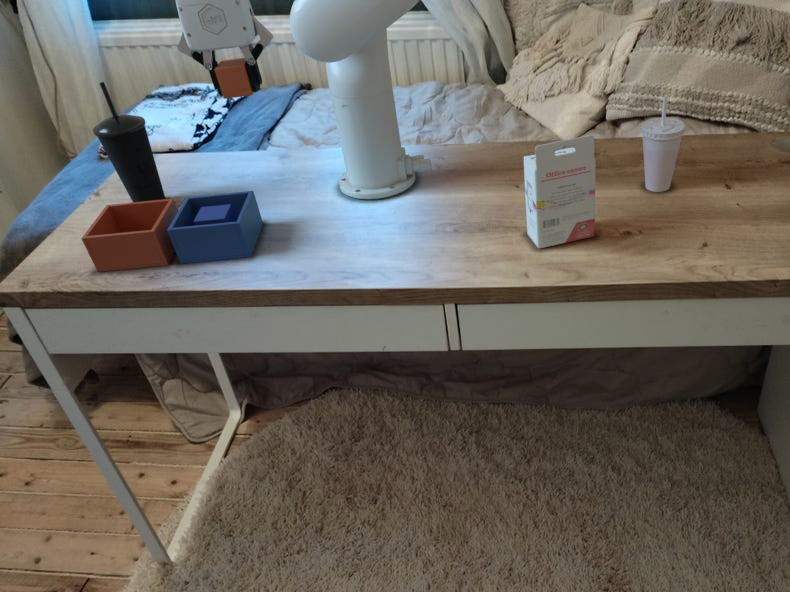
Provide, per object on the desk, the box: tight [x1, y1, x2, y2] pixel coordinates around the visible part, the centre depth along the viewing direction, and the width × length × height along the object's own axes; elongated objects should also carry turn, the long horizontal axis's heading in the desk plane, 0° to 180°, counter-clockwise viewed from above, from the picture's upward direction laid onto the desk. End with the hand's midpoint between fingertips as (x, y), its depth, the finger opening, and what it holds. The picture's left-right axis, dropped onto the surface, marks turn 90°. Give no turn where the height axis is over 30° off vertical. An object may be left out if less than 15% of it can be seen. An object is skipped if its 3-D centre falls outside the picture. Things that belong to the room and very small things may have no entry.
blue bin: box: [167, 190, 264, 265], centre depth 104 cm, size 10×10×6 cm
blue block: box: [194, 204, 237, 226], centre depth 104 cm, size 4×4×4 cm
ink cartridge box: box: [523, 134, 597, 249], centre depth 95 cm, size 9×5×15 cm, turn 106°
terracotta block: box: [215, 57, 255, 100], centre depth 110 cm, size 4×4×4 cm
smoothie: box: [639, 95, 686, 193], centre depth 105 cm, size 6×6×14 cm
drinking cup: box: [92, 81, 167, 202], centre depth 111 cm, size 8×8×20 cm
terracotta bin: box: [81, 198, 179, 273], centre depth 104 cm, size 10×10×6 cm
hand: (240, 89), depth 111 cm, fingers closed on terracotta block, 4 cm apart
